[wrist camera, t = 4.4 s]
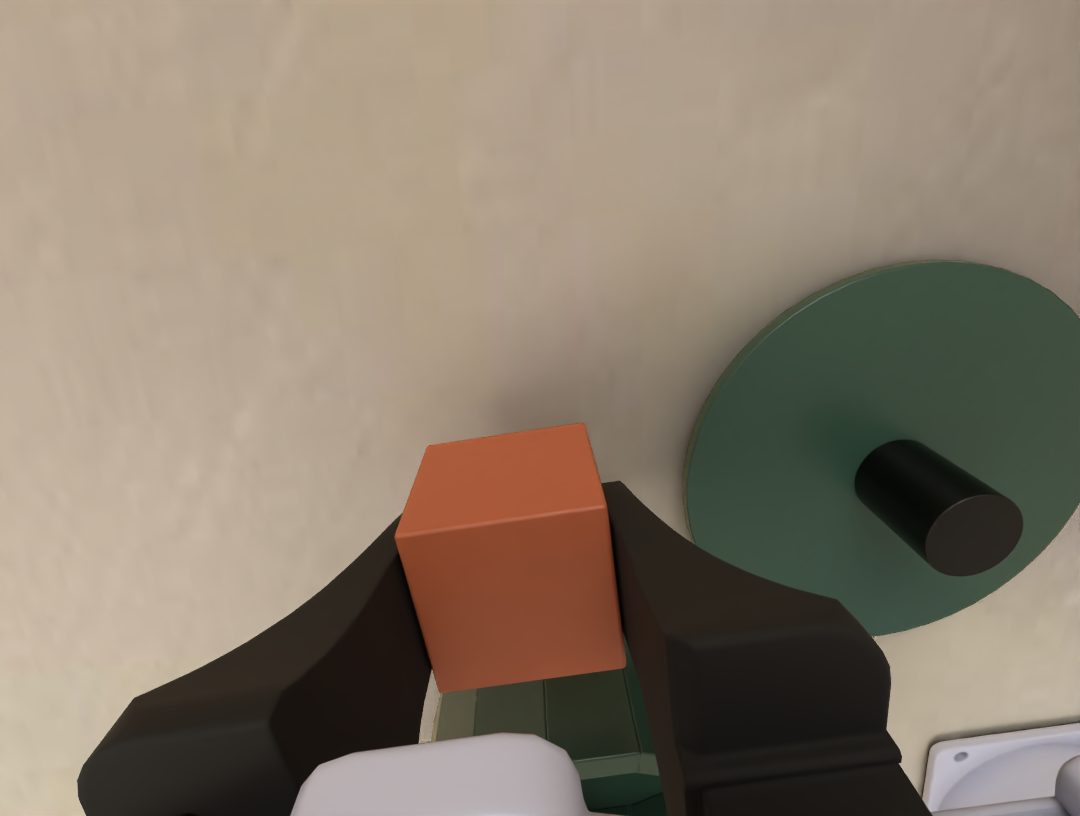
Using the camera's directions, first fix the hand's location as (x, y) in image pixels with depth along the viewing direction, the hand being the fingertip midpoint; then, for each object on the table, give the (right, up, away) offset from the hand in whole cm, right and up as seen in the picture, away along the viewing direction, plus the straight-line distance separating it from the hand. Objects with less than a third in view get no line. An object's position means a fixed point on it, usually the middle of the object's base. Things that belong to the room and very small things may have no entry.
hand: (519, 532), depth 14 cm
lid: (+11, +1, +4) cm, 12 cm away
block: (0, +1, +1) cm, 1 cm away
